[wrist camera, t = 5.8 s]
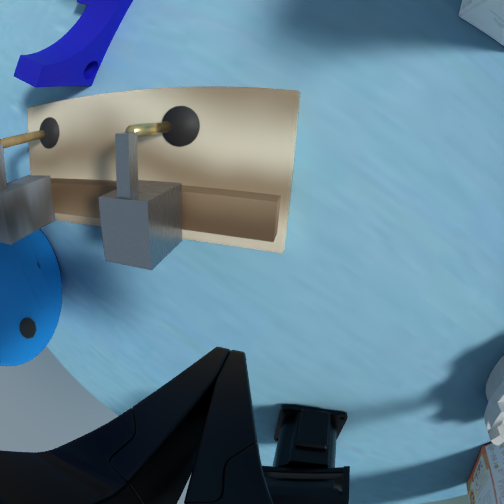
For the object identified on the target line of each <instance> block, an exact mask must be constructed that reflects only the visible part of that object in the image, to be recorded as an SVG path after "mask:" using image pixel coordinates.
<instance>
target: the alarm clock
mask: <svg viewBox="0 0 504 504" xmlns="http://www.w3.org/2000/svg"><path fill="white" fill-rule="evenodd" d="M61 304H62V281H61V274H60V269H59V266H58V262H57V259H56V256H55V253H54V251H53V249H52V247H51V245H50V243H49V241H48V240H47V238H46V237H45V235H44V234H43V232H42V231H41V230H40V229H38V230H36V231H34V232H33V233H31V234H29V235H27V236H25V237H24V238H22V239H20V240H18V241H17V242H15V243H13V244H11V245H9V244H5V243H1V242H0V366H15V365H20V364H23V363H25V362H28V361H30V360H31V359H33V358H34V357H36V356H37V355H38V354H39V353H40V352H41V351H42V350H43V349H44V348H45V347H46V345H47V344H48V343H49V341H50V339H51V338H52V336H53V334H54V331H55V329H56V326H57V323H58V320H59V316H60V311H61Z"/></svg>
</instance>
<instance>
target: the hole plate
mask: <svg viewBox="0 0 504 504" xmlns="http://www.w3.org/2000/svg"><path fill="white" fill-rule="evenodd" d="M299 98H300V92H299V91H295V90H283V89H270V88H252V87H174V88H156V89H142V90H131V91H122V92H113V93H105V94H98V95H91V96H84V97H78V98H72V99H67V100H61V101H56V102H51V103H47V104H42V105H37V106H33V107H29V108H28V133H25V134H21V135H16V136H12V137H8V138H4V139H0V242H1V243H5V244H9V245H11V244H13V243H15V242H17V241H18V240H20V239H22V238H24V237H25V236H27V235H29V234H31V233H33V232H34V231H36V230H38V229H40V228H42V227H43V226H45V225H47V224H49V223H51V222H53V221H55V220H58V221H65V222H72V223H79V224H86V225H93V226H100V227H101V220H100V210H99V198H98V197H100V196H102V195H104V194H107V193H109V192H111V191H113V190H116V189H117V182H116V154H115V134H116V133H122V132H125V130H126V128H127V127H128V126H129V125H135V124H144V123H153V122H163V121H169V122H170V123H171V124H172V129H171V131H170V132H167V133H161V134H155V135H149V136H144V137H138V180H148V181H162V182H175V183H182V239H189V240H196V241H203V242H210V243H216V244H223V245H230V246H237V247H243V248H250V249H257V250H264V251H270V252H277V253H283V251H284V248H285V240H286V231H287V222H288V213H289V204H290V195H291V185H292V175H293V165H294V155H295V144H296V133H297V122H298V111H299ZM26 142H29V158H30V171H31V175H28V176H25V177H22V178H20V179H17V180H14V181H12V182H9V183H6V174H5V164H4V150H3V148H7V147H10V146H14V145H18V144H22V143H26Z"/></svg>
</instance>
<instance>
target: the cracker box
mask: <svg viewBox="0 0 504 504" xmlns="http://www.w3.org/2000/svg"><path fill="white" fill-rule="evenodd" d="M466 484H467V491H468V497H469V504H504V442H503V443H502V444H500V445H499V446H497V445H495V444H493V443H492V442H491V443H489V444H486V445H484V446H482V448H481V450H480V453H479V456H478V458H477V460H476V463H475V465H474V468H473V470H472V472H471V475H470V477H469V479H468V481H467V483H466Z"/></svg>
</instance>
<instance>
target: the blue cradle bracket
mask: <svg viewBox="0 0 504 504" xmlns="http://www.w3.org/2000/svg"><path fill="white" fill-rule="evenodd" d="M132 1H133V0H77V2H78V3H82V4H85V5H88V6H87V8H86V9H85V11H84V13H83V14H82V16H81V17H80V18H79V20H78V21H77V22H76V24H75V25H74V26H73V27H72V28H71V29H70V30H69V31H68V32H67V33H66V34H65V35H64V36H63V37H62V38H61V39H59V40H58V41H57V42H55V43H54V44H53V45H51V46H49V47H48V48H46V49H44V50H42V51H39V52H37V53H33V54H29V55H20V58H19V61H18V64H17V67H16V70H15V73H14V77H16V78H18V79H20V80H22V81H24V82H26V83H28V84H30V85H32V86H34V87H53V86H92V83H93V81H94V79H95V76H96V74H97V71H98V69H99V67H100V64H101V62H102V60H103V58H104V55H105V53H106V51H107V49H108V47H109V45H110V43H111V41H112V39H113V37H114V35H115V33H116V31H117V29H118V27H119V25H120V23H121V21H122V19H123V17H124V15H125V14H126V12H127V10H128V8H129V6H130V5H131V3H132Z"/></svg>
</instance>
